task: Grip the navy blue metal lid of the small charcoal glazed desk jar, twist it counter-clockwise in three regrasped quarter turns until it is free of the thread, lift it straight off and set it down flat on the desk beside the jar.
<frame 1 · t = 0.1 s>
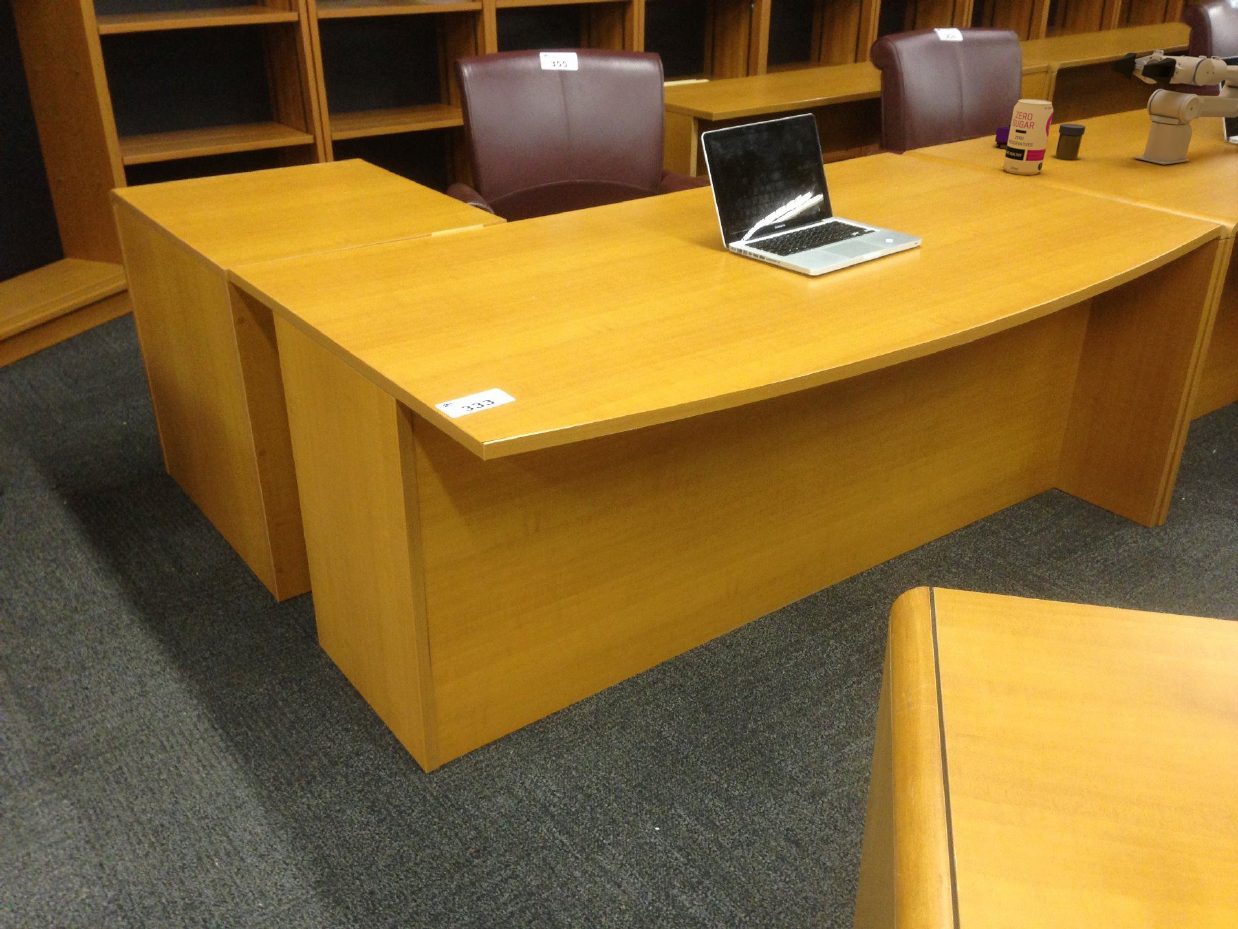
hand: (1128, 67, 230), 22 cm above the table, tool horizontal, fingers open, 7 cm apart
lid: (1072, 126, 246), point 7 cm above the table, screwed on, not yet turned
supplement can: (1021, 172, 235), on the table
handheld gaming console: (1018, 145, 263), on the table
jar: (1066, 157, 250), on the table
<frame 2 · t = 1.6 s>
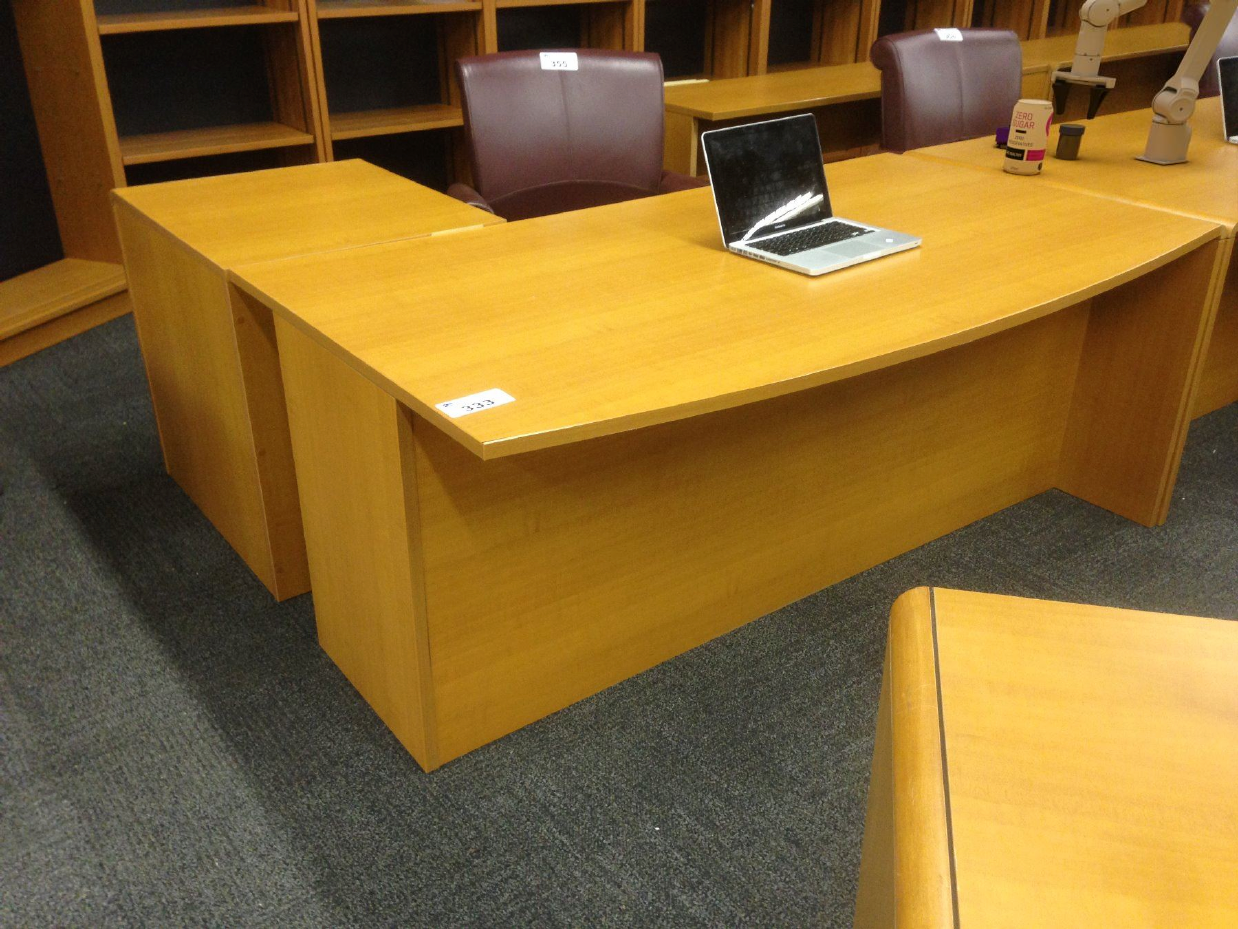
hand: (1074, 116, 245), 9 cm above the table, tool pointing down, fingers open, 7 cm apart
nothing on the table moved.
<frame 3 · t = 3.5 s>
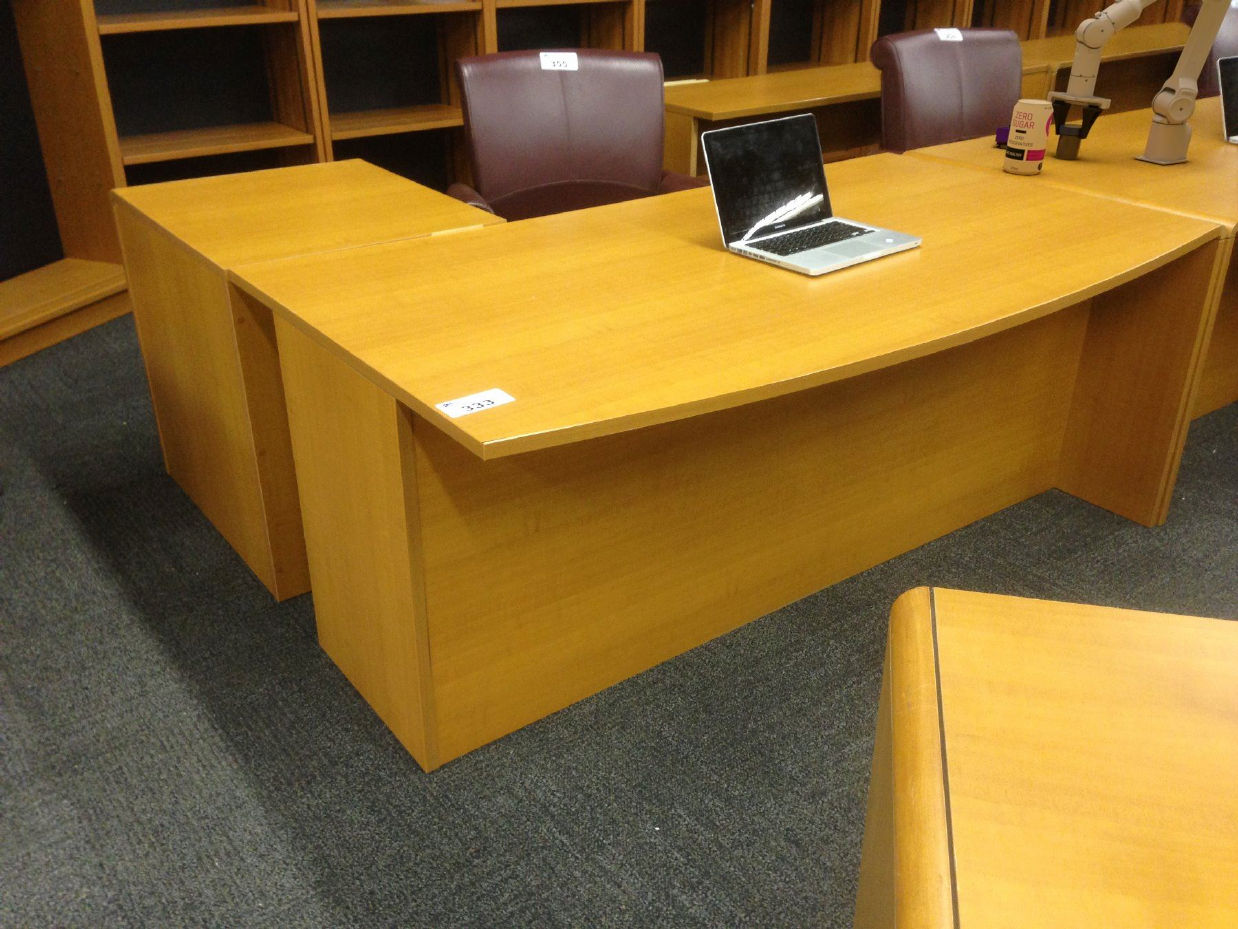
hand: (1070, 136, 247), 5 cm above the table, tool pointing down, fingers closed on lid, 5 cm apart
lid: (1072, 126, 246), point 7 cm above the table, screwed on, not yet turned, touching gripper
everything else where it was.
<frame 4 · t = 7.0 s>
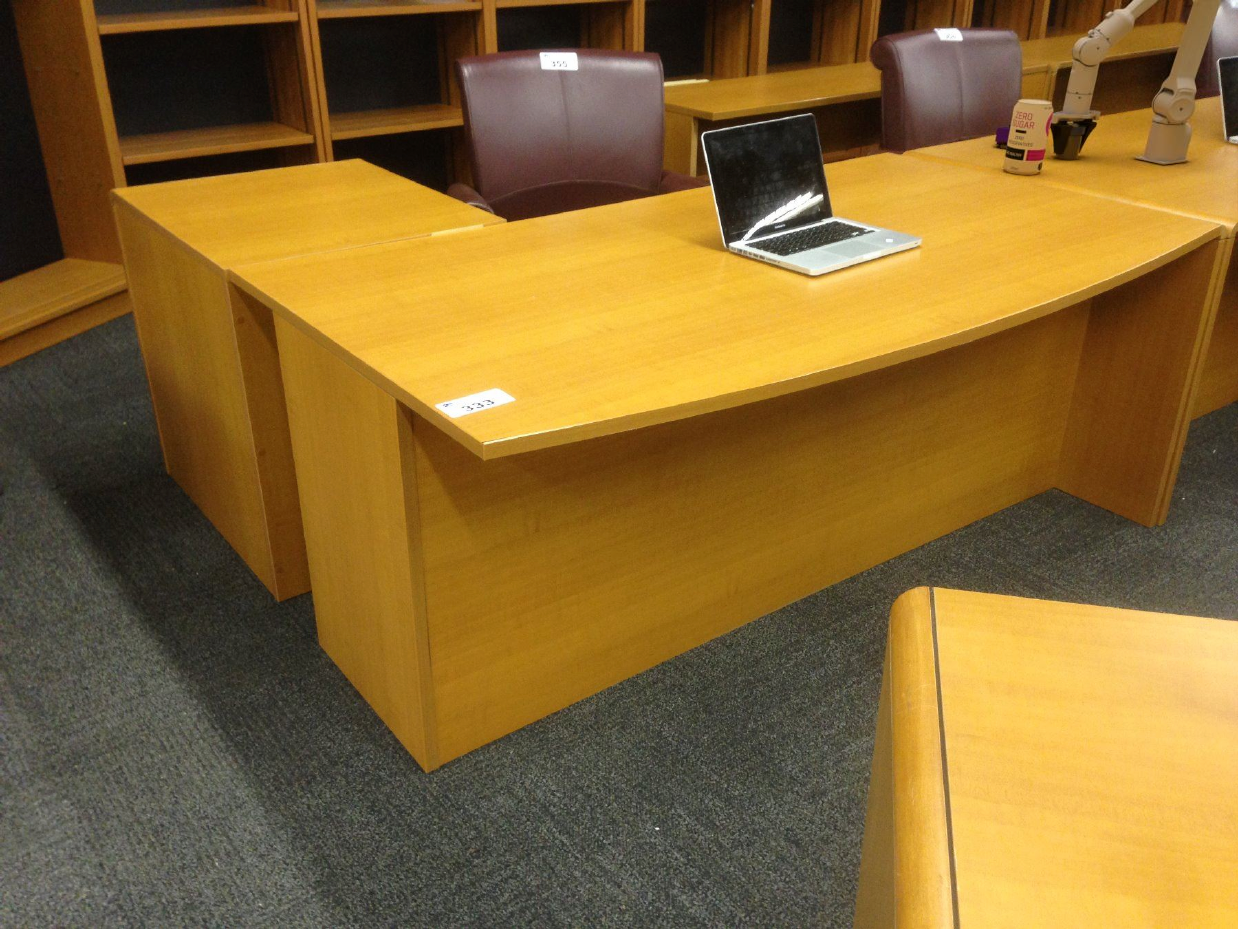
hand: (1066, 152, 249), 1 cm above the table, tool pointing down, fingers closed on lid, 5 cm apart
lid: (1072, 126, 246), point 7 cm above the table, turned 70° so far, risen 0.2 cm, still on its thread, touching gripper
everything else where it was.
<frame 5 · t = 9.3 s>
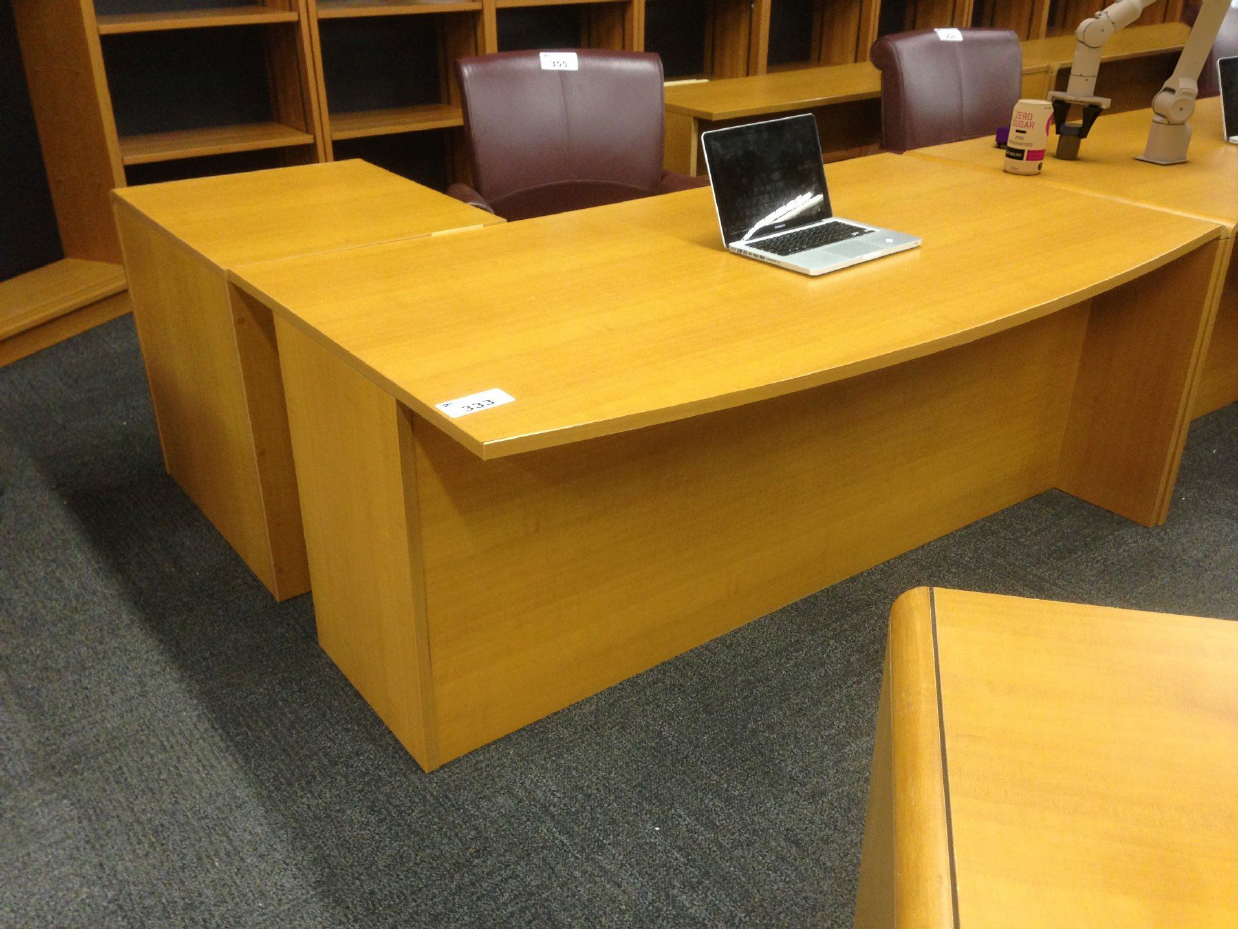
hand: (1070, 136, 247), 5 cm above the table, tool pointing down, fingers closed on lid, 5 cm apart
lid: (1072, 125, 246), point 7 cm above the table, turned 70° so far, risen 0.2 cm, still on its thread, touching gripper
everything else where it was.
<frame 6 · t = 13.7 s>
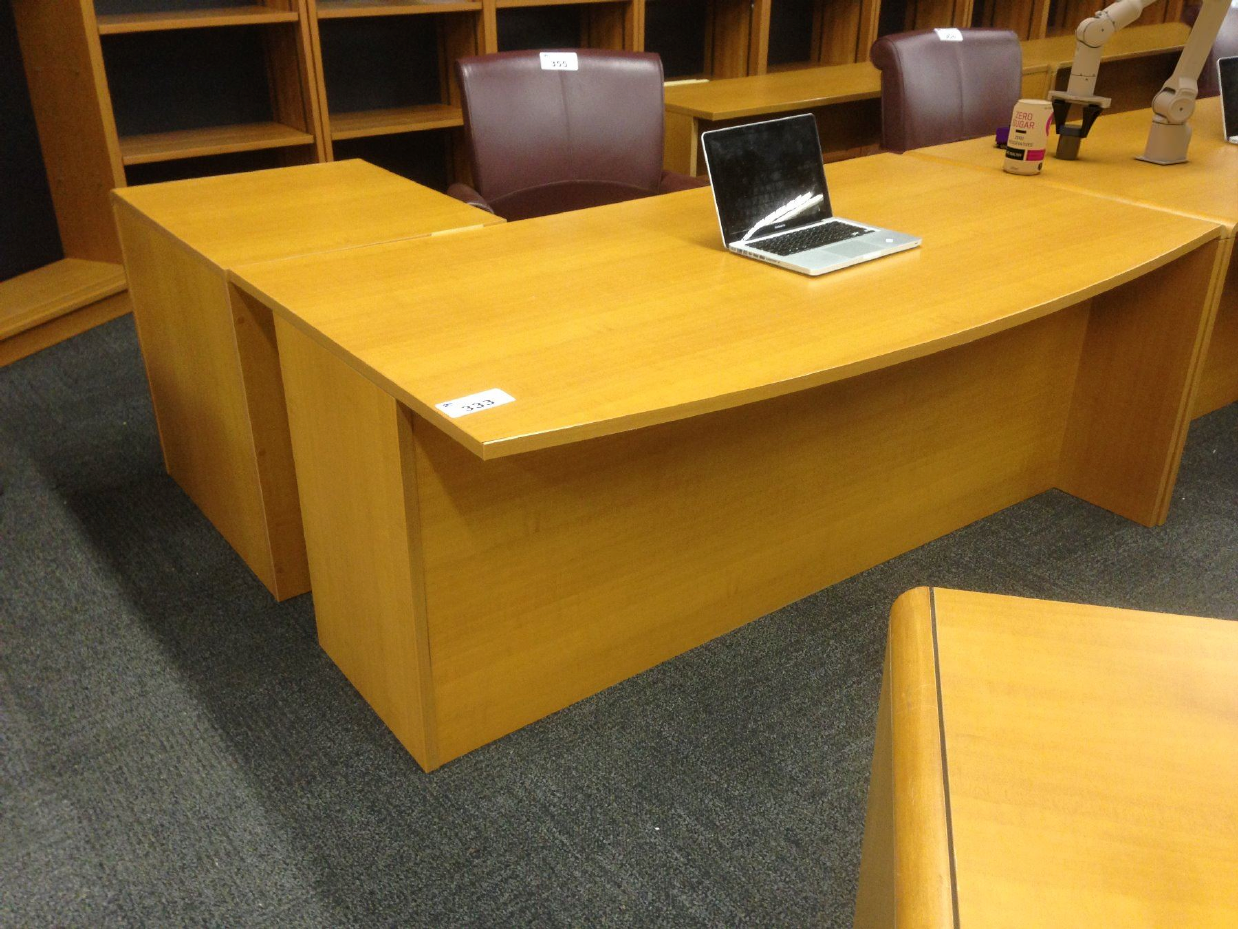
hand: (1070, 135, 247), 5 cm above the table, tool pointing down, fingers closed on lid, 5 cm apart
lid: (1072, 127, 246), point 7 cm above the table, off its thread, touching gripper, jar
jar: (1066, 157, 250), on the table, touching lid
everything else where it was.
when the fingers open (0 cm above the table, at t = 21.0 s): lid stays where it is, point 1 cm above the table.
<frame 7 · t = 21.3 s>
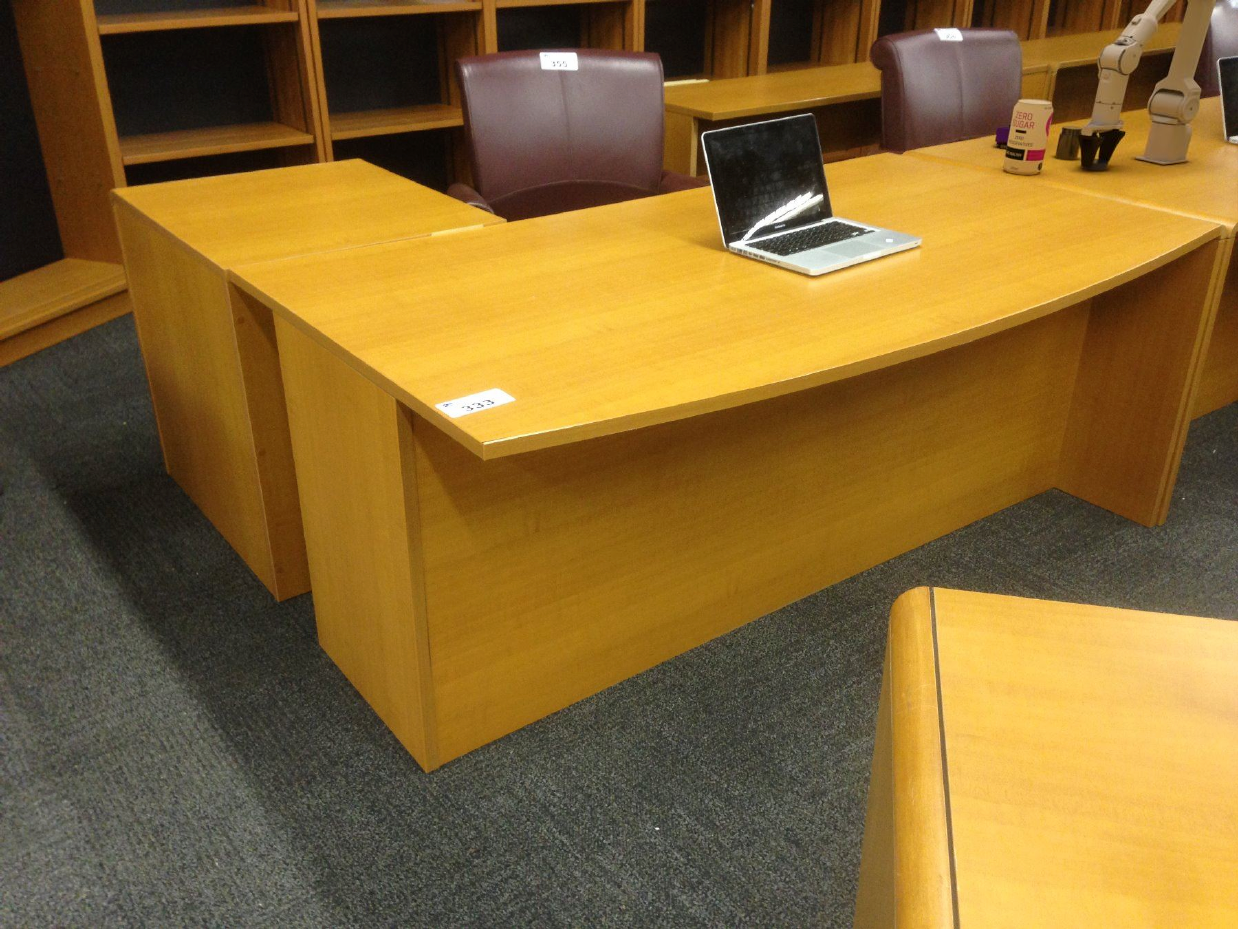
hand: (1094, 164, 239), 1 cm above the table, tool pointing down, fingers open, 7 cm apart
lid: (1094, 162, 239), point 1 cm above the table, off its thread
jar: (1066, 157, 250), on the table
everything else where it was.
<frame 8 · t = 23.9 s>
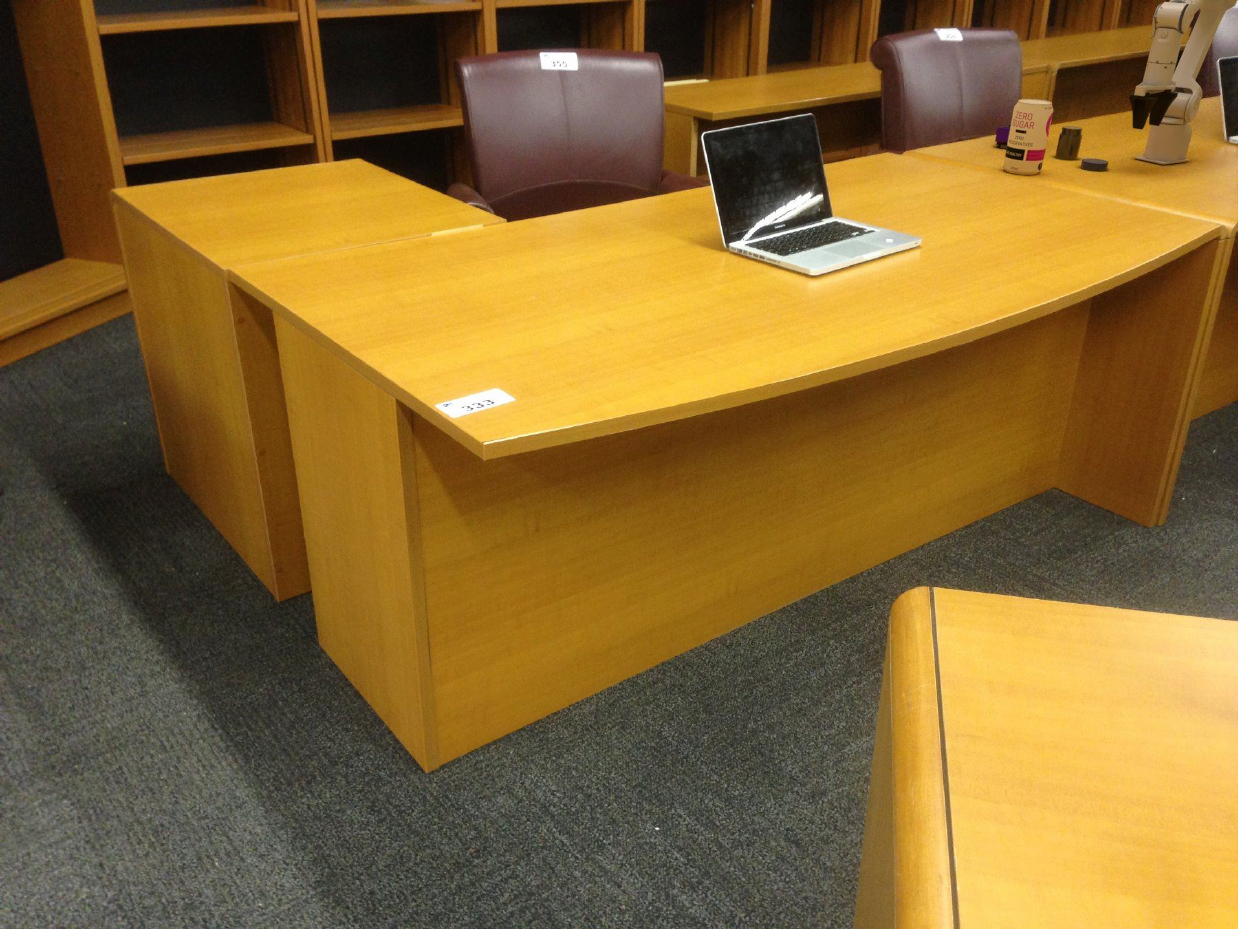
hand: (1146, 126, 235), 9 cm above the table, tool pointing down, fingers open, 7 cm apart
nothing on the table moved.
at the end: lid came off its thread; the gripper is holding nothing; lid inside the target area (0.0 cm from its centre), point 1.4 cm above the table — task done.
